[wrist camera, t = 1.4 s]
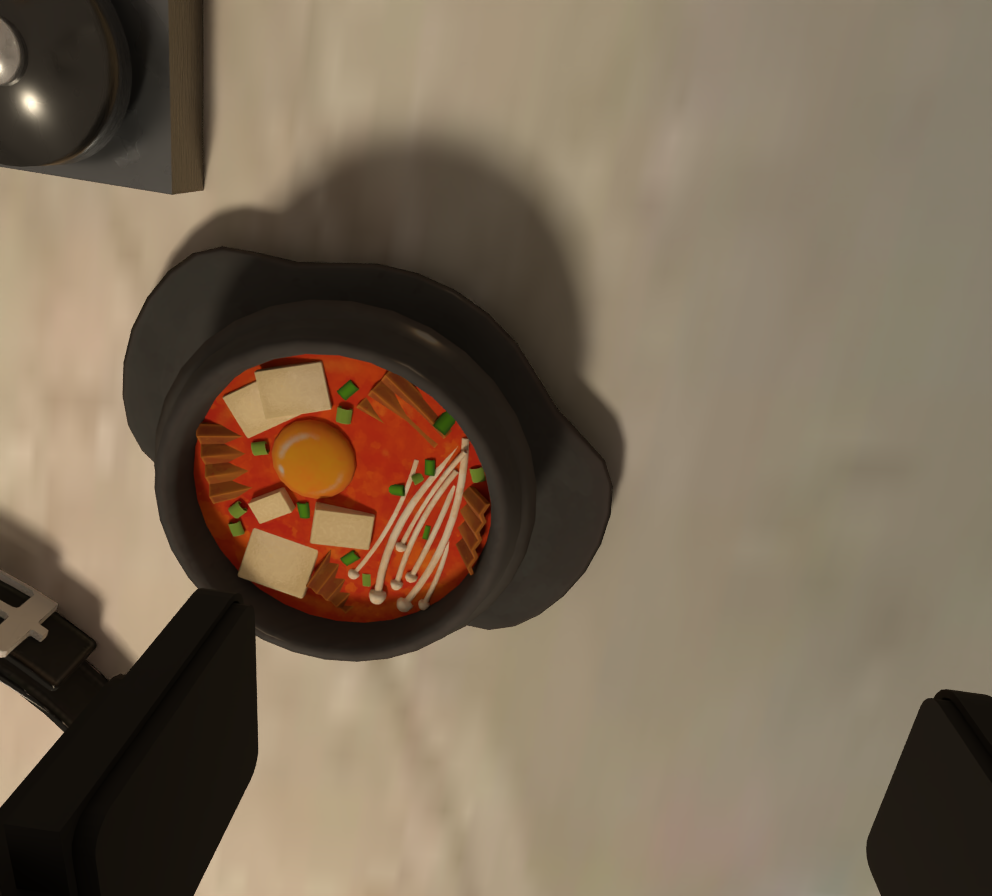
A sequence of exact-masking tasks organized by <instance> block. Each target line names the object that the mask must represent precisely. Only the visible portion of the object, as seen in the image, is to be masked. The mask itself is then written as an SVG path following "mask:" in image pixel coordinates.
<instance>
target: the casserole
mask: <svg viewBox="0 0 992 896" xmlns="http://www.w3.org/2000/svg"><path fill="white" fill-rule="evenodd" d="M123 400H124V406H125V411H126V416H127V422H128V425H129V428H130V430H131V432H132V433H133V435H134V437H135V439H136V441H137V442H138V444H139V446H140V448H141V449H142V451H143V452H144V453H145V454H146V455H147V456H148V457H149V458H150V459H151V460H152V461H153V462H154V467H155V494H156V500H157V505H158V511H159V517H160V521H161V524H162V526H163V529H164V532H165V534H166V537H167V540H168V542H169V545H170V547H171V550H172V551H173V553H174V555H175V556H176V558H177V560H178V561H179V563H180V565H181V566H182V568H183V570H184V571H185V573H186V574H187V576H188V578H189V579H190V580H191V581H192V582H193V583H194V585H195V586H196V587H197V588H198V589H199V588H206V589H214V590H221V591H228V592H236V593H239V594H241V595H242V598H243V602H244V604H246V605H252V606H253V608H254V611H255V635H256V636H258V637H259V638H261V639H263V640H265V641H267V642H270V643H272V644H275V645H277V646H280V647H282V648H285V649H287V650H290V651H292V652H295V653H300V654H304V655H308V656H313V657H317V658H321V659H326V660H340V661H355V662H358V661H369V660H379V659H388V658H392V657H396V656H399V655H403V654H406V653H410V652H414V651H417V650H419V649H421V648H423V647H425V646H427V645H429V644H431V643H433V642H435V641H437V640H440V639H442V638H444V637H445V636H447V635H449V634H451V633H453V632H455V631H457V630H459V629H461V628H463V627H465V626H466V625H468V626H473V627H477V628H482V629H487V630H491V629H498V628H506V627H513V626H516V625H518V624H520V623H523V622H525V621H527V620H529V619H531V618H533V617H535V616H537V615H539V614H541V613H542V612H543V611H545V610H546V609H547V608H549V607H550V606H551V605H553V604H554V603H555V602H556V601H558V600H559V599H560V598H562V597H563V596H564V595H565V594H566V593H567V592H568V591H569V589H570V588H571V587H572V586H573V585H574V584H575V583H576V582H577V581H578V579H579V578H580V577H581V576H582V575H583V574H584V573H585V571H586V570H587V568H588V566H589V564H590V562H591V561H592V559H593V557H594V555H595V554H596V552H597V550H598V548H599V547H600V545H601V542H602V539H603V536H604V533H605V530H606V527H607V524H608V521H609V518H610V515H611V502H612V489H613V486H612V483H611V480H610V476H609V473H608V470H607V467H606V464H605V460H604V459H603V458H602V457H601V456H600V455H599V454H598V453H597V451H596V450H595V449H594V448H593V447H592V446H591V445H590V444H589V443H588V442H587V441H586V439H585V438H584V437H583V436H582V435H581V434H580V433H579V432H578V431H577V430H576V428H575V427H574V426H573V425H572V424H571V423H570V422H569V421H568V420H567V419H566V418H565V416H564V415H563V414H562V413H561V412H560V411H559V410H558V409H557V407H556V406H555V404H554V403H553V401H552V399H551V398H550V396H549V395H548V393H547V391H546V390H545V388H544V386H543V385H542V383H541V382H540V380H539V378H538V377H537V375H536V373H535V372H534V370H533V369H532V367H531V365H530V364H529V362H528V361H527V359H526V357H525V356H524V354H523V353H522V351H521V350H520V348H519V346H518V345H517V343H516V342H515V341H514V340H513V339H512V338H511V337H510V336H509V335H508V334H507V333H506V332H505V331H504V330H503V329H502V327H501V326H500V325H499V324H498V323H497V322H496V321H495V320H494V319H493V318H492V317H491V316H490V315H489V314H488V313H486V312H485V311H484V310H482V309H481V308H479V307H478V306H477V305H475V304H474V303H472V302H471V301H470V300H468V299H467V298H465V297H464V296H462V295H461V294H460V293H458V292H457V291H455V290H453V289H451V288H449V287H447V286H444V285H442V284H440V283H438V282H436V281H433V280H431V279H429V278H427V277H425V276H422V275H420V274H418V273H414V272H410V271H406V270H401V269H397V268H393V267H389V266H384V265H380V264H361V263H313V262H295V261H291V260H287V259H282V258H278V257H274V256H270V255H265V254H261V253H256V252H251V251H245V250H240V249H234V248H228V247H223V246H222V247H218V248H214V249H209V250H205V251H201V252H197V253H193V254H191V255H190V256H189V257H187V258H186V259H185V260H183V261H182V262H181V263H179V264H178V265H176V266H175V267H174V268H172V269H171V270H170V271H168V273H167V274H166V275H165V276H164V277H163V279H162V280H161V281H160V282H159V284H158V285H157V286H156V287H155V288H154V290H153V291H152V292H151V293H150V295H149V296H148V297H147V299H146V301H145V303H144V305H143V307H142V309H141V311H140V313H139V315H138V317H137V319H136V321H135V323H134V325H133V327H132V329H131V334H130V338H129V342H128V346H127V350H126V355H125V359H124V367H123Z"/></svg>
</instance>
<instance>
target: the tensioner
mask: <svg viewBox="0 0 992 896" xmlns="http://www.w3.org/2000/svg"><path fill="white" fill-rule="evenodd" d="M0 167H5V168H12V169H18V170H24V171H30V172H36V173H42V174H48V175H55V176H61V177H67V178H73V179H79V180H85V181H91V182H98V183H104V184H110V185H116V186H122V187H128V188H135V189H141V190H147V191H153V192H159V193H165V194H171V195H173V194H180V193H188V192H195V191H202V190H203V0H0Z"/></svg>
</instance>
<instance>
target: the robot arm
mask: <svg viewBox="0 0 992 896" xmlns="http://www.w3.org/2000/svg"><path fill="white" fill-rule="evenodd" d="M257 757H258V720H257V680H256V639H255V611H254V608H253V606H252V605H246V604H244V602H243V598H242V595H241V594H239V593H236V592H228V591H221V590H214V589H206V588H199V589H197V590H196V591H195V592H194V593H193V594H192V595H191V596H190V598H189V599H188V600H187V601H186V603H185V604H184V605H183V606H182V607H181V609H180V610H179V611H178V612H177V613H176V615H175V616H174V617H173V618H172V620H171V621H170V622H169V623H168V624H167V626H166V627H165V628H164V629H163V630H162V632H161V633H160V634H159V635H158V637H157V638H156V639H155V640H154V641H153V643H152V644H151V645H150V646H149V647H148V649H147V650H146V651H145V652H144V654H143V655H142V656H141V657H140V658H139V660H138V661H137V662H136V663H135V664H134V666H133V667H132V668H131V669H130V671H129V672H128V673H127V674H126V675H122V674H120V675H118V676H115V677H113V678H112V679H110V680H109V681H108V682H107V683H106V684H105V685H104V686H103V687H102V688H101V690H100V691H99V692H98V693H97V694H96V696H95V697H94V698H93V699H92V700H91V701H90V703H89V704H88V705H87V706H86V707H85V708H84V710H83V711H82V712H81V713H80V714H79V716H78V717H77V718H76V719H75V720H74V721H73V723H72V724H71V725H70V726H69V727H68V729H67V730H66V731H65V732H64V733H63V734H62V736H61V737H60V738H59V739H58V740H57V741H56V743H55V744H54V745H53V746H52V747H51V749H50V750H49V751H48V752H47V753H46V754H45V756H44V757H43V758H42V759H41V760H40V762H39V763H38V764H37V765H36V766H35V767H34V769H33V770H32V771H31V772H30V773H29V775H28V776H27V777H26V778H25V779H24V780H23V782H22V783H21V784H20V785H19V786H18V787H17V789H16V790H15V791H14V792H13V793H12V795H11V796H10V797H9V798H8V799H7V800H6V802H5V803H4V804H3V805H2V806H1V808H0V896H194V894H195V892H196V890H197V888H198V886H199V884H200V881H201V879H202V877H203V875H204V873H205V871H206V869H207V867H208V865H209V863H210V861H211V859H212V857H213V855H214V853H215V851H216V849H217V847H218V845H219V843H220V841H221V839H222V837H223V835H224V833H225V831H226V829H227V827H228V825H229V823H230V821H231V819H232V816H233V814H234V812H235V810H236V808H237V806H238V804H239V802H240V800H241V798H242V796H243V794H244V792H245V790H246V788H247V786H248V784H249V782H250V780H251V778H252V775H253V773H254V770H255V766H256V762H257ZM866 852H867V860H868V865H869V868H870V871H871V873H872V875H873V878H874V880H875V882H876V885H877V887H878V890H879V892H880V894H881V896H992V697H991V696H988V695H985V694H977V693H970V692H963V691H955V690H948V689H945V690H940V691H939V692H938V693H937V694H936V695H935V697H934V698H928V699H926V700H925V701H923V703H922V705H921V707H920V709H919V711H918V714H917V716H916V719H915V721H914V724H913V726H912V729H911V731H910V734H909V736H908V739H907V741H906V744H905V746H904V749H903V751H902V754H901V756H900V759H899V761H898V764H897V766H896V769H895V771H894V774H893V776H892V779H891V781H890V784H889V786H888V789H887V791H886V794H885V796H884V799H883V801H882V803H881V806H880V808H879V811H878V813H877V816H876V818H875V821H874V823H873V826H872V828H871V831H870V833H869V836H868V839H867V846H866Z"/></svg>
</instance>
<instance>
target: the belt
mask: <svg viewBox="0 0 992 896" xmlns="http://www.w3.org/2000/svg"><path fill="white" fill-rule="evenodd" d="M57 606H58V603H56V602H55V601H53V600H52V599H50V598H48V597H47V596H45V595H44V594H42V593H41V592H39V591H37V590H36V589H34V588H32V587H31V586H29V585H27V584H25V583H24V582H22V581H20V580H18V579H17V578H15V577H13V576H11V575H9V574H7V573H6V572H4V571H2V570H0V682H1V683H3V684H4V685H6V686H8V687H9V688H11V689H12V690H14V691H15V692H17V693H19V694H20V695H21V696H22V697H24V698H25V699H26V700H28V701H29V702H30V703H31V704H33V705H34V706H35V707H37V708H38V709H39V710H40V711H42V712H43V713H44V714H45V715H46V716H47V717H49V718H50V719H51V720H52V721H53V722H54V723H55V724H56V725H57V726H58V727H59V728H60V729H61V730H62V731H64V732H65V731H66V730H67V729H68V727H69V726H70V725H71V724H72V723H73V721H74V720H75V719H76V718H77V717H78V716H79V714H80V713H81V712H82V711H83V710H84V708H85V707H86V706H87V705H88V704H89V703H90V701H91V700H92V699H93V698H94V697H95V696H96V694H97V693H98V692H99V691H100V690H101V688H102V687H103V686H104V685H105V684H106V683H107V682H108V680H107V679H106V678H105V677H104V676H103V675H102V674H101V673H100V672H98V671H97V670H96V669H95V668H94V667H93V666H92V665H91V664H90V663H88V662H87V661H86V660H85V659H86V658H87V657H88V656H89V655H90V654H91V653H92V652H93V651H94V650H95V648H96V642H95V641H94V640H92V639H91V638H90V637H88V636H87V635H86V634H85V633H83V632H82V631H81V630H79V629H78V628H77V627H75V626H74V625H73V624H71V623H70V622H69V621H67V620H66V619H65V618H63V617H62V616H60V615H59V614H58V613H56V612H55V611H56V610H57Z"/></svg>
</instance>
